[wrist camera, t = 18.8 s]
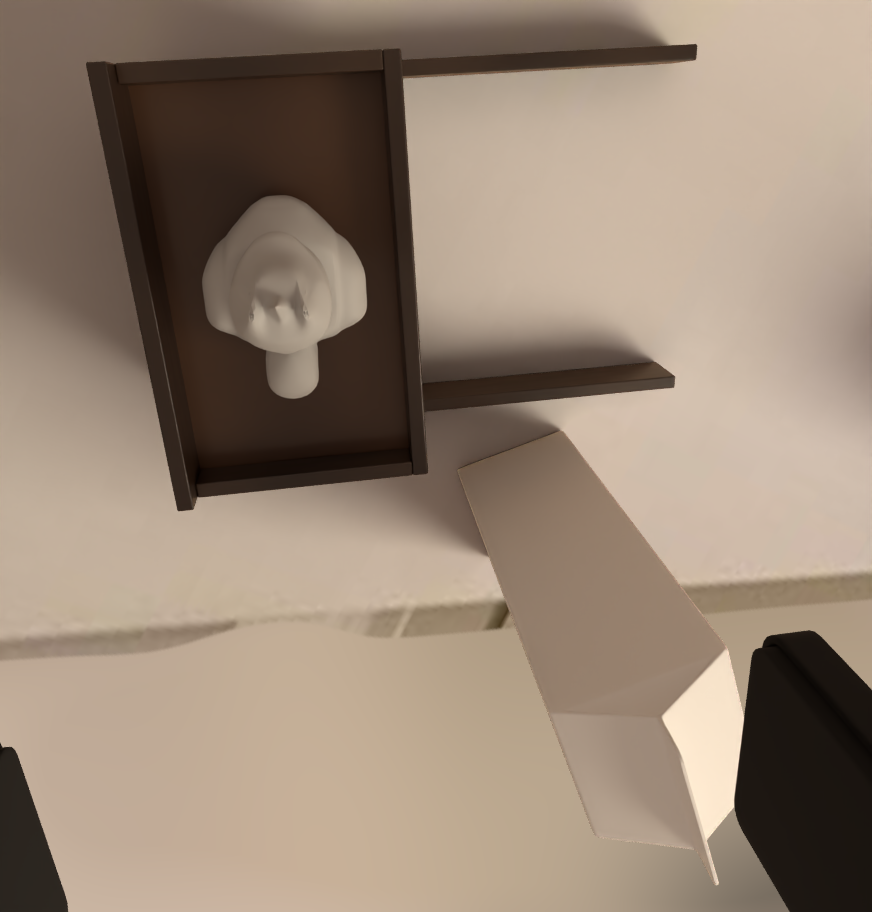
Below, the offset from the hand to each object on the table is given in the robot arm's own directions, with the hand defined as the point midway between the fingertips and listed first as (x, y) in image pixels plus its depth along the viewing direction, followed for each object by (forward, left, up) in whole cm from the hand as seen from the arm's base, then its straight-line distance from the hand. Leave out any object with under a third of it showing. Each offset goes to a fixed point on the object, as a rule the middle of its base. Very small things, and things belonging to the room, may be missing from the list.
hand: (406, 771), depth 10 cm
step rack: (-2, +4, -30) cm, 31 cm away
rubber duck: (-2, -2, -22) cm, 23 cm away
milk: (+12, +9, -31) cm, 34 cm away
